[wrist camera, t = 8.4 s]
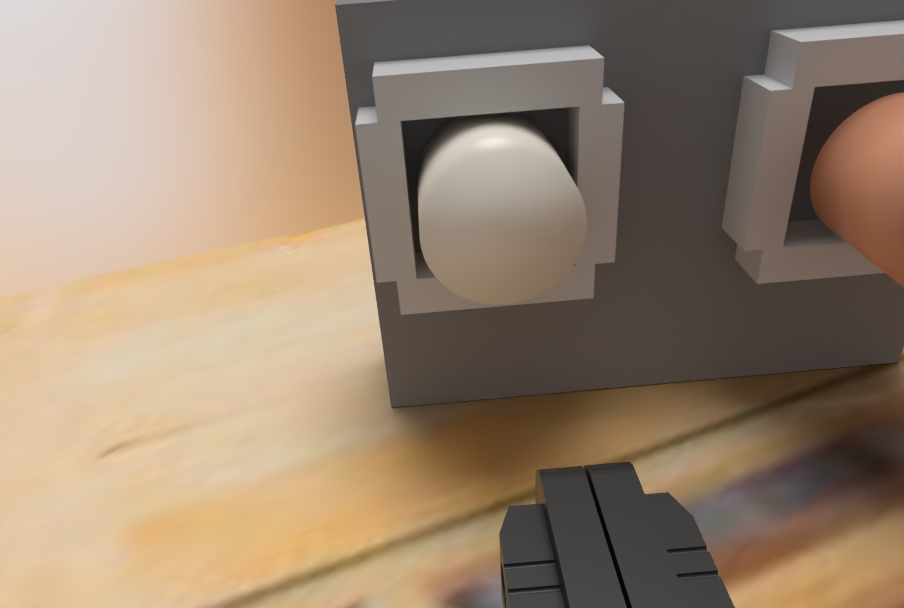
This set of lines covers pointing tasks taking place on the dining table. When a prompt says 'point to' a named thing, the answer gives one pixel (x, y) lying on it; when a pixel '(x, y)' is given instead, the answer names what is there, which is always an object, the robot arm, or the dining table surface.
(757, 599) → the dining table surface
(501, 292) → the cream button
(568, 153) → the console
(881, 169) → the terracotta button
